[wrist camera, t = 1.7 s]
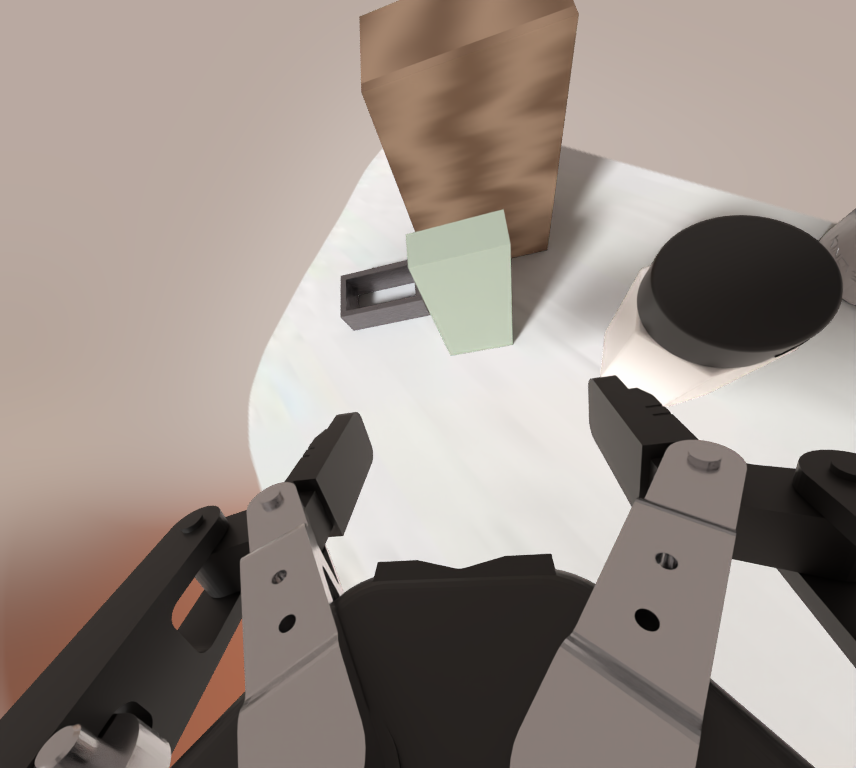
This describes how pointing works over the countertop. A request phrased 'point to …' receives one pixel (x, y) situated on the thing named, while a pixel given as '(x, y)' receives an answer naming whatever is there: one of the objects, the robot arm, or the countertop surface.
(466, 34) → the cabinet
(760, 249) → the jar
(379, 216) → the countertop surface
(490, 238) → the sage green block
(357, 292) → the dark grey rectangular frame
